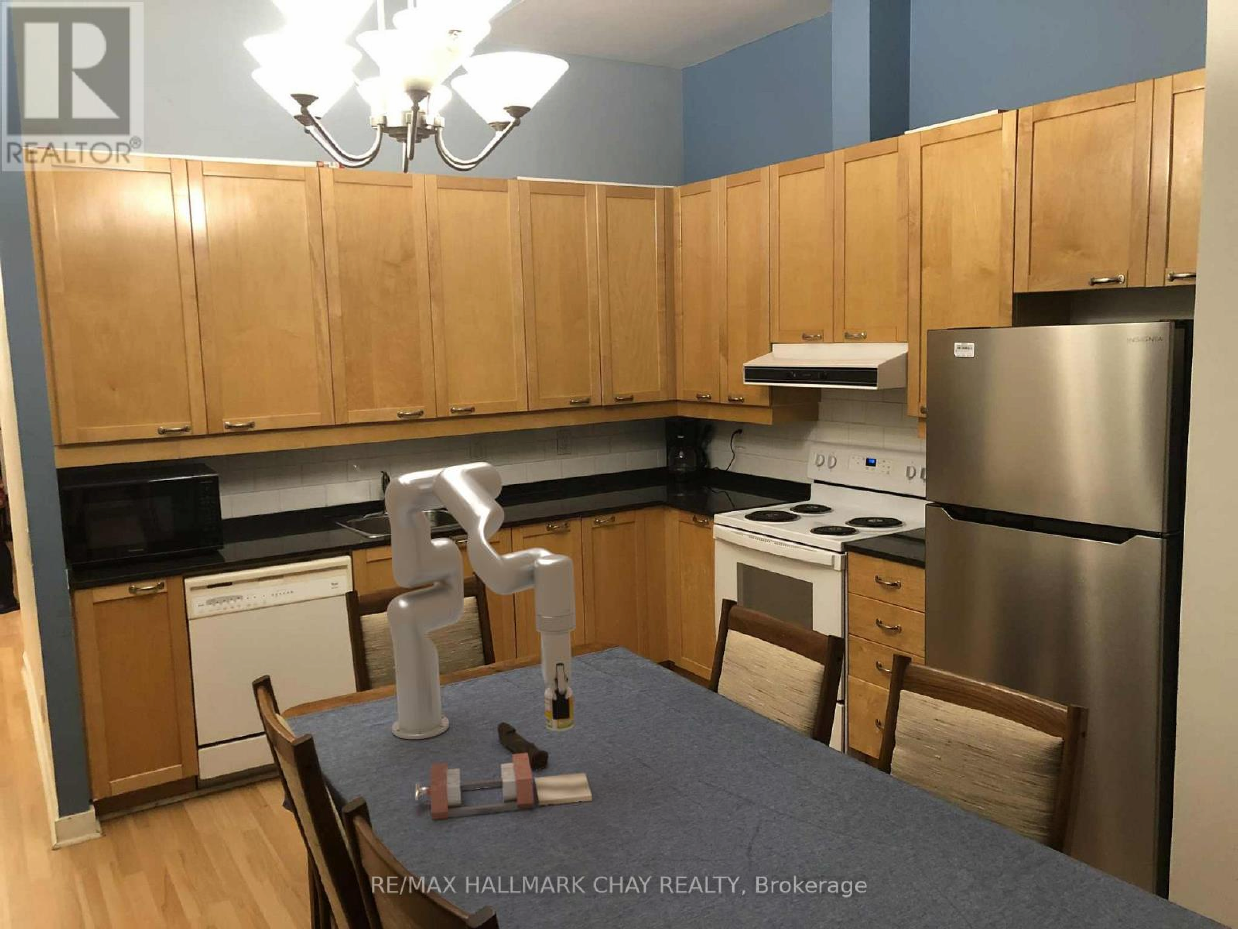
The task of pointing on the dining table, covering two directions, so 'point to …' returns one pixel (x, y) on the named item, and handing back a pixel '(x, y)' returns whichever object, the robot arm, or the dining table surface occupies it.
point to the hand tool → (522, 746)
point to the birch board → (562, 789)
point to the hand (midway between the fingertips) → (559, 711)
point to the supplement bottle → (550, 722)
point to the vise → (449, 788)
